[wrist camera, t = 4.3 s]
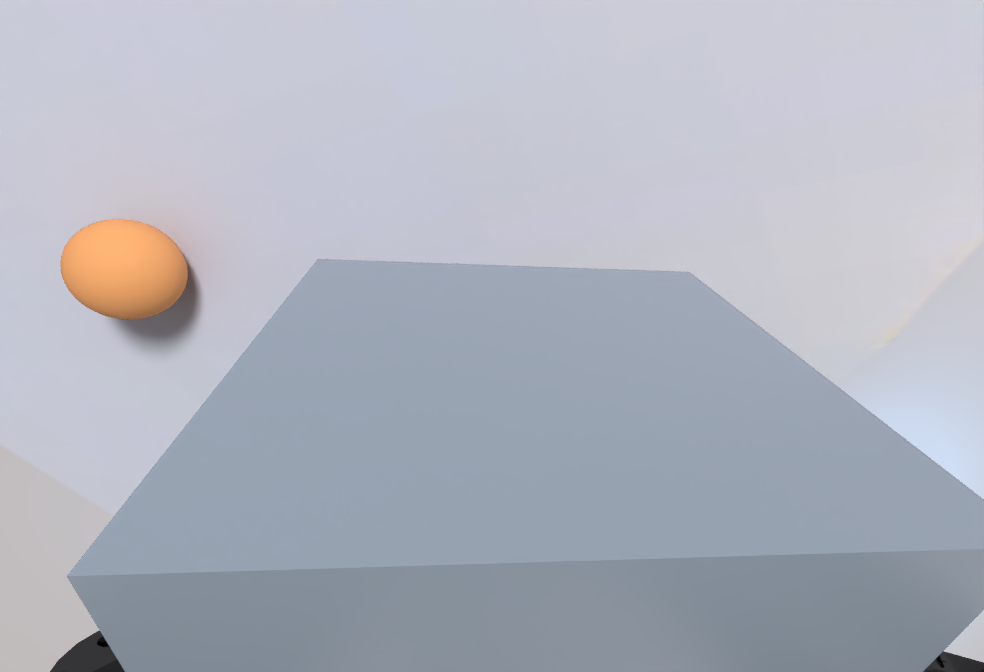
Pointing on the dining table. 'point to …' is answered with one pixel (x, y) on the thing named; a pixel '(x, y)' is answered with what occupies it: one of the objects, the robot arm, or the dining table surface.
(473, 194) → the dining table surface
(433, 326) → the matte gray-blue box
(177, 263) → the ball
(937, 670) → the robot arm
